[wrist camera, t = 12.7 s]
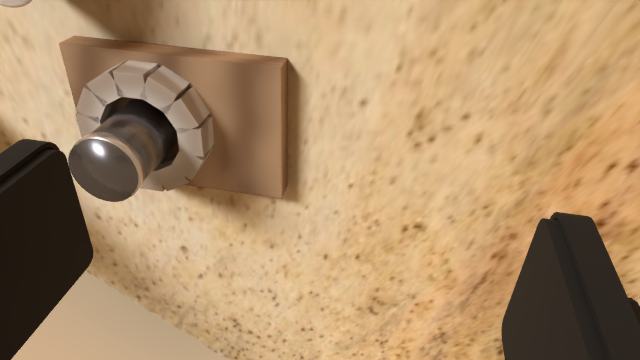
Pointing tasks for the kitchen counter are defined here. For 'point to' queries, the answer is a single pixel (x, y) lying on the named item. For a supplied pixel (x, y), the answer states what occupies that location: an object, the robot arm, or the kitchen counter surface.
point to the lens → (122, 151)
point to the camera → (14, 3)
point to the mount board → (226, 97)
